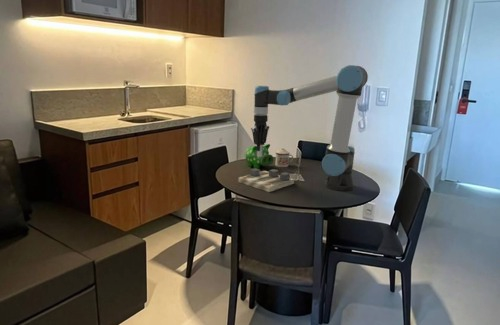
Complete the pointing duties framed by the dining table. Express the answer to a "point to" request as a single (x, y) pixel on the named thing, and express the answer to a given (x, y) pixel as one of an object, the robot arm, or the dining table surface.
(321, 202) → the dining table surface
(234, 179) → the dining table surface
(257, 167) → the piggy bank
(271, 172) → the middle tab
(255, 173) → the far tab
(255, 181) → the switch board
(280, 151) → the teacup with lid
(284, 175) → the near tab
